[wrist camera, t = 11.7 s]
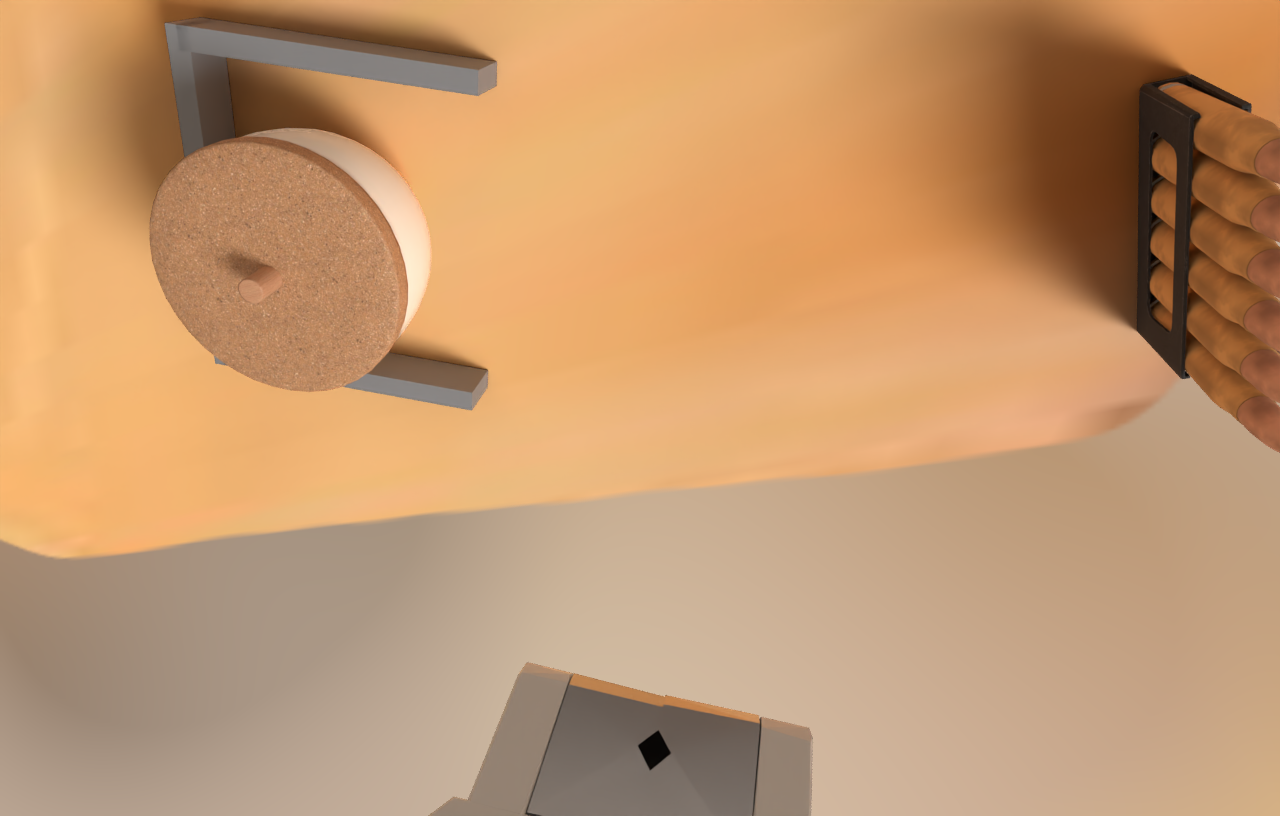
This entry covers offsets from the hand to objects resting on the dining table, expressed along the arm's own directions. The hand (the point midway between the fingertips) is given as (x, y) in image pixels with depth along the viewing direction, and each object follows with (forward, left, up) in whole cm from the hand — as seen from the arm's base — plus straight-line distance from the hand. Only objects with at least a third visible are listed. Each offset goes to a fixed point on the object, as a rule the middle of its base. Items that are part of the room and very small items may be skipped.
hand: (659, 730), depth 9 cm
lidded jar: (+18, +7, -32) cm, 38 cm away
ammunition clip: (-17, +1, -32) cm, 36 cm away
